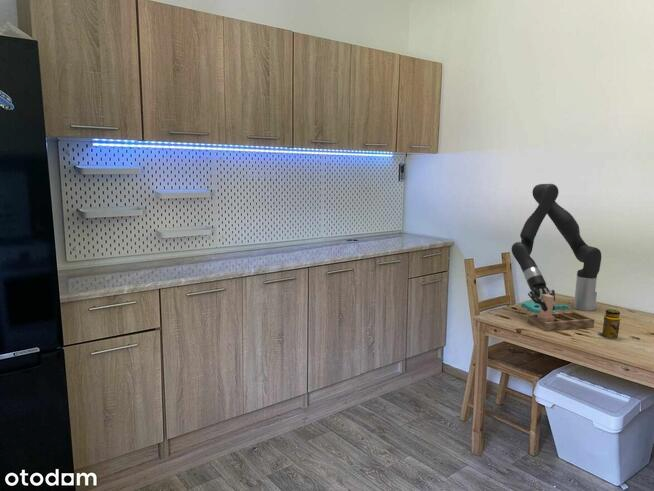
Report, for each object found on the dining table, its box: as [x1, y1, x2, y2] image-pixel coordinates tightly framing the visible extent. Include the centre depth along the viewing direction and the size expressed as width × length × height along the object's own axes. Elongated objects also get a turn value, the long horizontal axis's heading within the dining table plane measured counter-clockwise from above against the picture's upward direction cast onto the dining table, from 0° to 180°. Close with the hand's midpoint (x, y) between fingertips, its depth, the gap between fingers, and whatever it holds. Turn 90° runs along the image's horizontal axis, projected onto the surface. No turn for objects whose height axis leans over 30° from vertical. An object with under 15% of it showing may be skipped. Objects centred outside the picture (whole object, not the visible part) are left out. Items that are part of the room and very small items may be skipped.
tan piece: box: [536, 294, 555, 322], centre depth 223 cm, size 6×4×12 cm
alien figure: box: [521, 300, 570, 314], centre depth 251 cm, size 20×2×20 cm
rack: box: [527, 311, 595, 332], centre depth 226 cm, size 26×13×4 cm, turn 105°
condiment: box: [596, 308, 621, 341], centre depth 210 cm, size 7×8×12 cm
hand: (549, 310), depth 221 cm, fingers closed on tan piece, 3 cm apart
